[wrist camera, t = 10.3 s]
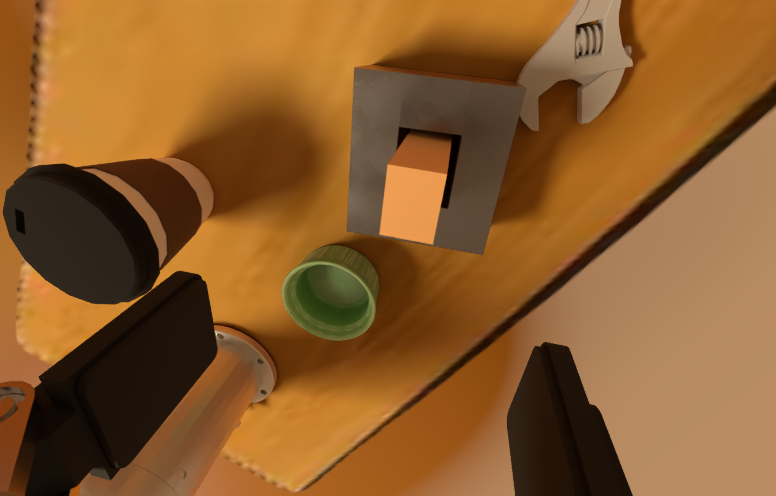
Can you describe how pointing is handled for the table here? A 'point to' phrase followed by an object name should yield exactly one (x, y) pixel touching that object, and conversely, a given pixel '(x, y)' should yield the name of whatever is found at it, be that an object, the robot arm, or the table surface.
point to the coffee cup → (106, 223)
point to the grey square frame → (439, 114)
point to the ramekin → (332, 293)
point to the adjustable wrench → (578, 61)
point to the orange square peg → (416, 186)
